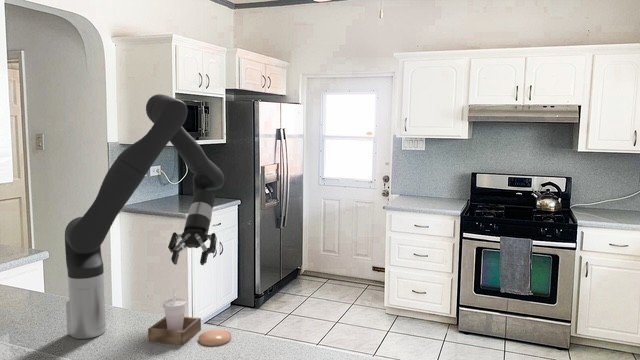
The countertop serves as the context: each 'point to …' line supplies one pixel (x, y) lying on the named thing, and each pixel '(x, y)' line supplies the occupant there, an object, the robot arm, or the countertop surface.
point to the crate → (174, 331)
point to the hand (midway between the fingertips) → (188, 263)
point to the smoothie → (174, 313)
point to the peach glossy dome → (215, 337)
